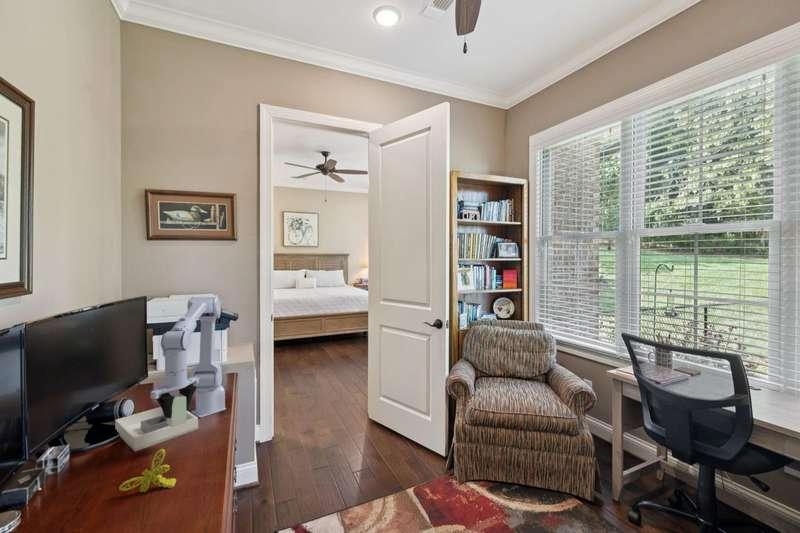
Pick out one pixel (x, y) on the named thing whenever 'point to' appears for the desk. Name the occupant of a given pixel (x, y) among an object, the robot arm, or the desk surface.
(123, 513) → the desk surface
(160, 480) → the decorative insect
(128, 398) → the desk surface
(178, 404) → the connector
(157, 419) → the box
